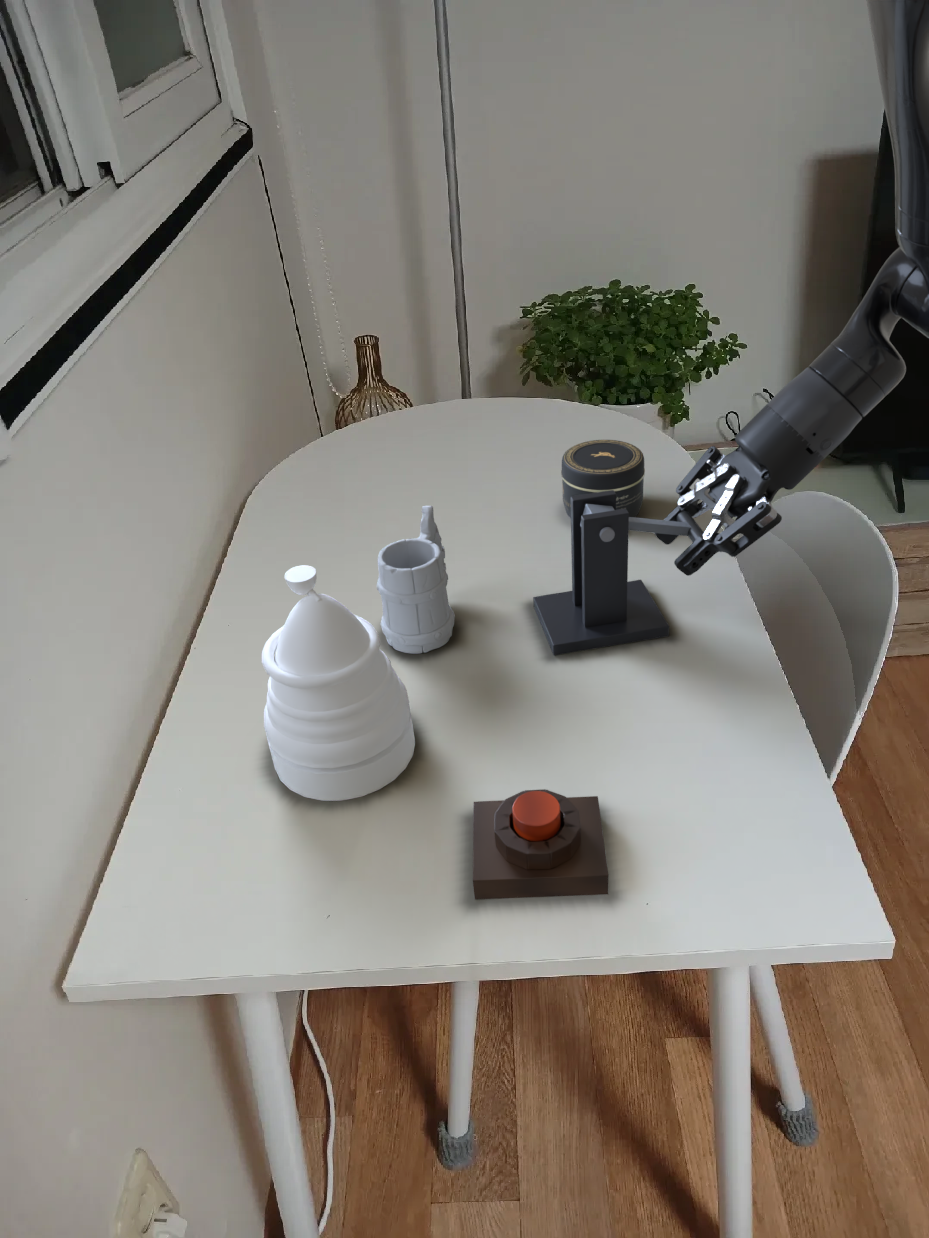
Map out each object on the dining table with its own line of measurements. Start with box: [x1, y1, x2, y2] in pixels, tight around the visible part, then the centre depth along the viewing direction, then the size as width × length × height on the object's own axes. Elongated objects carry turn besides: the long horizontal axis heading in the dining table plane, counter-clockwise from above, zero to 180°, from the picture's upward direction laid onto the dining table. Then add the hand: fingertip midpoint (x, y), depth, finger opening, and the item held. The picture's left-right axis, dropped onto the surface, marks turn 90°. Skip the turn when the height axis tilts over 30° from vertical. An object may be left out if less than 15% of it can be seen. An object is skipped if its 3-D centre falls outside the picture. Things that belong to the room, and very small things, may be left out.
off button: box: [512, 791, 561, 842], centre depth 72 cm, size 4×4×2 cm
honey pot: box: [261, 564, 416, 802], centre depth 81 cm, size 13×13×18 cm
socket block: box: [472, 788, 609, 901], centre depth 73 cm, size 10×8×4 cm
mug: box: [376, 505, 456, 655], centre depth 98 cm, size 8×12×12 cm, turn 162°
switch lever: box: [580, 504, 705, 543], centre depth 94 cm, size 12×6×2 cm, turn 99°
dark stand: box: [532, 490, 670, 656], centre depth 96 cm, size 12×9×14 cm
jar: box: [560, 439, 646, 519], centre depth 116 cm, size 10×10×8 cm
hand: (670, 553), depth 96 cm, fingers closed on switch lever, 5 cm apart
